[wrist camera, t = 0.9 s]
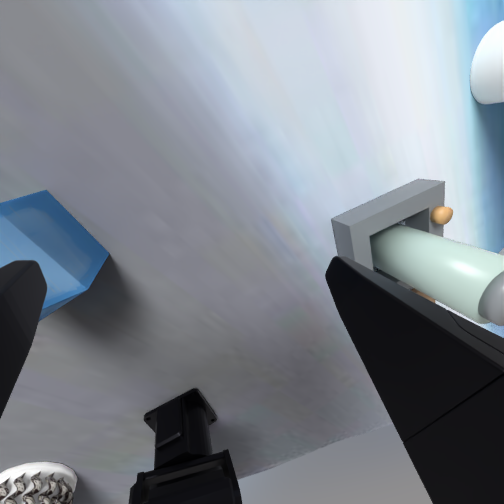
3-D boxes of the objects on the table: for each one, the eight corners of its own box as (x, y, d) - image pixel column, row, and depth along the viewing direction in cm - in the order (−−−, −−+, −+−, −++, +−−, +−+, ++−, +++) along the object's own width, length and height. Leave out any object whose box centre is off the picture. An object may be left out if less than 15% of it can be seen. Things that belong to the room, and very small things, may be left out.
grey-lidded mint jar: (400, 252, 31) (537, 311, 19) (363, 271, 30) (483, 343, 19) (397, 213, 28) (552, 253, 17) (358, 232, 28) (492, 287, 16)
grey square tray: (419, 262, 33) (450, 275, 29) (346, 300, 31) (369, 319, 27) (418, 178, 28) (455, 182, 24) (331, 218, 26) (356, 229, 22)
